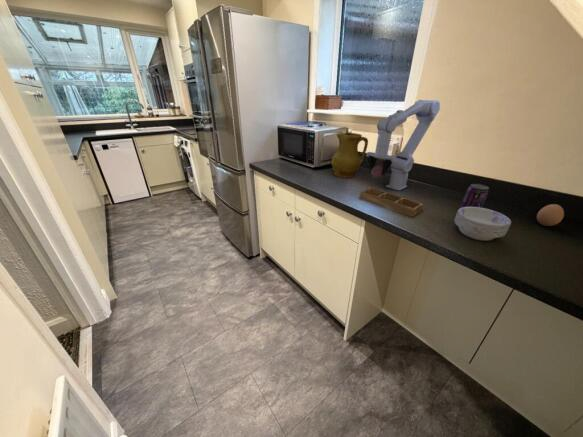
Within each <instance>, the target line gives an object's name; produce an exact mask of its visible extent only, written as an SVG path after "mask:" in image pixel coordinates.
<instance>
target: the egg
mask: <svg viewBox="0 0 583 437" xmlns="http://www.w3.org/2000/svg"><path fill="white" fill-rule="evenodd" d="M564 217H565V211H564V208H563V207H562V206H561V205H559V204H556V203H551V204H548V205H545V206H544V207H542V208H541V209H540V210H538V212H537V214H536V220H537V222H538V223H539V224H540V225H541V226H545V227H553V226H556V225H558V224H559V223H561V222H562V220H563V219H564Z"/></svg>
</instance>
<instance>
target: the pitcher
mask: <svg viewBox="0 0 583 437" xmlns="http://www.w3.org/2000/svg"><path fill="white" fill-rule="evenodd" d="M336 137H337V138H338V142H339V143H338V148H337V150H336V152H334V154H333V156H332V158H331V167H332V168H331V169H332V170H333V171H334V173H333V176H335V177H338V178H343V179H348V178H349V179H350V178H353V177H354V176H355V175H354V174H355V173H356V172H357V171H358V170H359V168H360V167H361V164H362V163H363V162H364V158H365V156H366V153H367V152H366V151H367V148H368V146H369V139H368V138H367V137H365V136H363V135H362V134H360V133H357V132H350V131H349V132H343V133H341V132H340V133H337V134H336ZM361 142H364V146H363V149H362V152H361V155H360V154H359V150H358V147H359V144H360V143H361Z"/></svg>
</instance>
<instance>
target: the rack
mask: <svg viewBox="0 0 583 437" xmlns="http://www.w3.org/2000/svg"><path fill="white" fill-rule="evenodd" d="M360 199H361V200H363V201H366V202H369V203H372V204H375V205H377V206H380V207H383V208H386V209H388V210H391V211H394V212H397V213H400V214H403V215H405V216H408V217H411V218H413V217H414V216H416V215H418V214H419V213H421V212H422V210H423V207H424V203H423V202H420V201H416V200H413V199H410V198H407V197H404V196H401V195H397V194H395V193H391V192H388V191H384V190H382V189H377V188H374V187H368V188H365V189H364V190H361V191H360V194H359V200H360Z"/></svg>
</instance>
